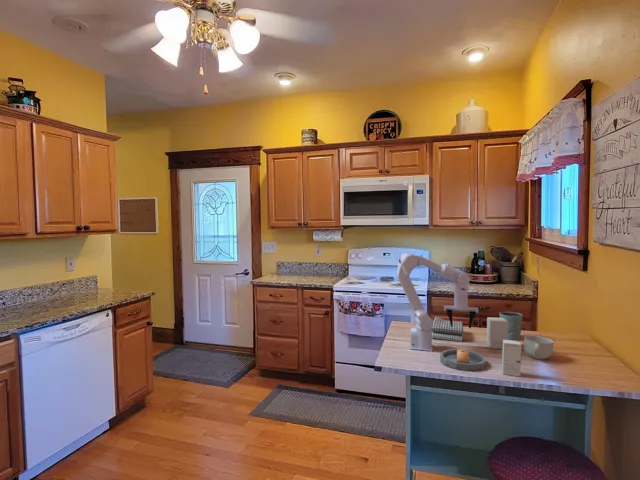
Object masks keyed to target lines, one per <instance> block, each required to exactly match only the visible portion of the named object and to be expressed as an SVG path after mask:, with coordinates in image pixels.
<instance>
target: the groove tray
mask: <svg viewBox="0 0 640 480" xmlns="http://www.w3.org/2000/svg"><path fill="white" fill-rule="evenodd" d="M457 350H459V349H457V348H456V349H455V348H454V349H453V348H452V349H445V350H443V351H441V352H440V353H439V354H440V358H439V359H440V361H439V362H440V363H441V364H442V365H443V366H445V367H447V368H450V369H452V370H457V371H464V372H473V371H474V372H475V371H481V370H483V369H485V367H486V363H487V362H486V357H485V356H484V355H483V354H480V353H479V352H476V351H471V350H469V349H467V350H466V349H465V350H466V351H468V352H469V364H466V363H457Z"/></svg>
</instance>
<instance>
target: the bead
mask: <svg viewBox="0 0 640 480" xmlns="http://www.w3.org/2000/svg"><path fill="white" fill-rule="evenodd" d="M468 351H469V350H468ZM468 351H466V349H458V350H457V363H466V364H469V352H468Z"/></svg>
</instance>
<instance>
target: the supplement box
mask: <svg viewBox="0 0 640 480" xmlns="http://www.w3.org/2000/svg"><path fill="white" fill-rule="evenodd" d="M503 340H508V321H506V320H505V319H504V318H500V317H487V318H486V344H487V345H488V346H489V348H490V349H495V350H497V349H498V350H503Z"/></svg>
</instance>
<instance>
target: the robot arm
mask: <svg viewBox="0 0 640 480" xmlns="http://www.w3.org/2000/svg"><path fill="white" fill-rule="evenodd" d="M422 266H424V267H427V268H429V269H432V270H434V271H437V273H438V275H439V276H441V277H443V278H445V279H448V280H450V281H453V282H454V286H453V287H454V289H453V292H454V293H453V294H454V297H453V298H454V299H453V305H444V306H443V311H446V315H447V316H448V319H449V320H448V321H450V323H451V327H453V323H452V321H453V312H466V313H468V316H469V317H468V318H469V321H468V328H469V329H471V328H472V324H473V320H474V319H475V317H476V315H477V314H478V313H479V307H476V306H475V307H474V306H469V305H468V304H469V303H468V302H469V299H468V297H469V295H468V293H469V287H468V286H469V285H468V284H469V283H470V281H471V278H470V275H469V274H468V273H467V272H466V271H462V270H461V268H458V267H457V268H456V267H453V266H452V265H451V264H450V263H443V264H439V263H437V262H435V261H433V260H431V259H428V258H426V257H424V256H422V255H416V254H413V253H410V252H404V253H403V252H402V254H401V255H400V256H399V258H398V260H397V271H396V276H397V279H398V281H399V283H400V285H401V287H402V289H403V291H404V294H405V296H406V298H407V301H408V302H409V305H410V307H411V309H412V312H413V315H414V317H413V318H414V322H415V323H416V324H415V327H411V328H410V342H409V344H410V349H411V350H416V351H417V350H418V351H426V352H427V351H429V352H433V350H434V349H433V348H434V345H433V338H432V327H433V321H434V319H433V318H432V317H430V315H429V314H428V312H427V311H426V309H425V307H424V306H423V303H422V301H421V299H420V297H419V295H418V292H417V290H416V288H415V286H414V284H413V281H412V279H411V277H410V276H411V273H412V271H413V270H414V269H415V268H416V267H422Z"/></svg>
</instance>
